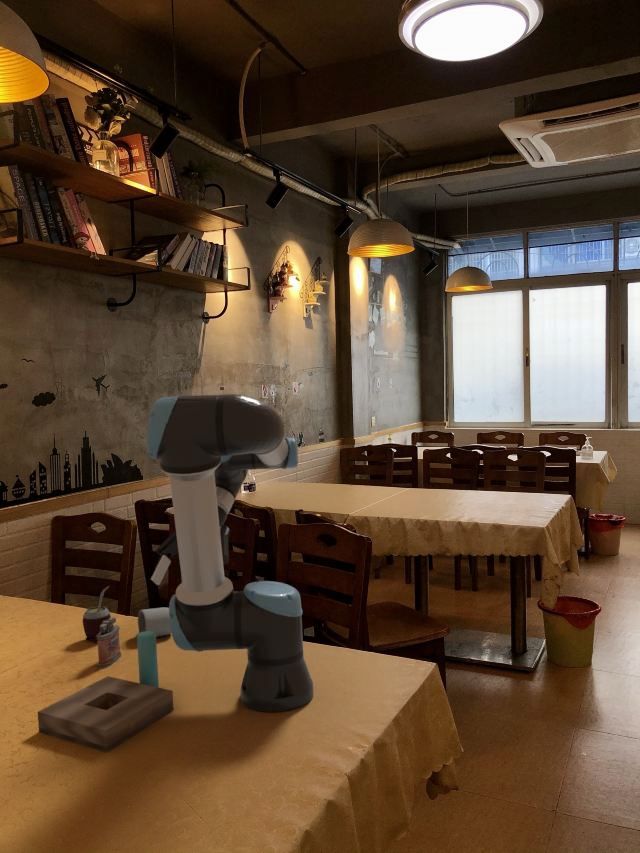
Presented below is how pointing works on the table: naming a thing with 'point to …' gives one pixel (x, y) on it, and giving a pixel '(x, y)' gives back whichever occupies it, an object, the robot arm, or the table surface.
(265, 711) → the robot arm
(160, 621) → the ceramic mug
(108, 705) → the hole board
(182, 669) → the table surface
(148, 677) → the pin
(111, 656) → the lighter
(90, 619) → the mate gourd
